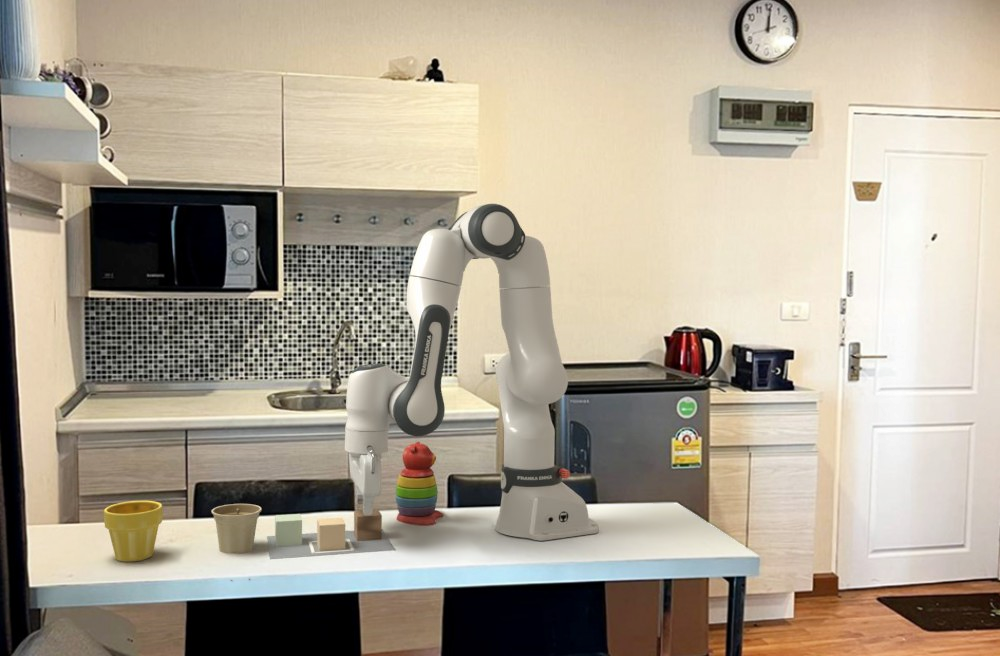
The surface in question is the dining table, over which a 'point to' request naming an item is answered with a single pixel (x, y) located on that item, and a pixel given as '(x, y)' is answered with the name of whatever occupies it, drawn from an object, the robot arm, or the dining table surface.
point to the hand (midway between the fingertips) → (364, 509)
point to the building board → (313, 537)
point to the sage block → (288, 530)
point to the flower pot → (236, 527)
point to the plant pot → (133, 528)
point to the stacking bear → (417, 487)
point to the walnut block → (367, 525)
